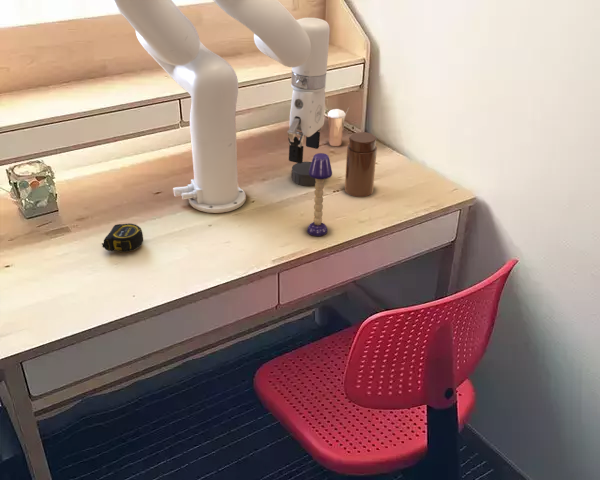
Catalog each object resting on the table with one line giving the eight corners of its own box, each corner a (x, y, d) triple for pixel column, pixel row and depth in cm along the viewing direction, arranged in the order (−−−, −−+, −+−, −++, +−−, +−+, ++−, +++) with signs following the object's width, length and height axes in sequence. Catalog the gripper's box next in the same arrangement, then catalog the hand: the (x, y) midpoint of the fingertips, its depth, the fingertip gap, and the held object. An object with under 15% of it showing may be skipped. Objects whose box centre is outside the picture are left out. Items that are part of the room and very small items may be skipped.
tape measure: (117, 236, 138) (114, 220, 136) (149, 239, 137) (147, 223, 135) (103, 254, 132) (100, 237, 130) (136, 257, 132) (134, 240, 129)
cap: (298, 170, 165) (298, 159, 163) (328, 175, 163) (328, 164, 161) (286, 182, 159) (286, 171, 158) (316, 188, 157) (317, 177, 155)
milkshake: (347, 147, 176) (349, 110, 170) (326, 147, 176) (328, 109, 170) (346, 140, 180) (348, 103, 174) (326, 140, 180) (328, 103, 174)
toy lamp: (305, 225, 143) (307, 151, 133) (327, 224, 144) (330, 150, 134) (308, 237, 139) (311, 161, 129) (331, 235, 140) (335, 160, 130)
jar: (351, 198, 153) (355, 144, 146) (339, 186, 158) (342, 133, 151) (378, 194, 155) (383, 140, 148) (365, 182, 160) (369, 129, 153)
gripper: (309, 94, 139) (304, 171, 149) (338, 72, 152) (332, 145, 162) (275, 87, 141) (273, 164, 151) (308, 67, 155) (303, 139, 164)
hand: (304, 154), depth 157 cm, fingers open, 9 cm apart
